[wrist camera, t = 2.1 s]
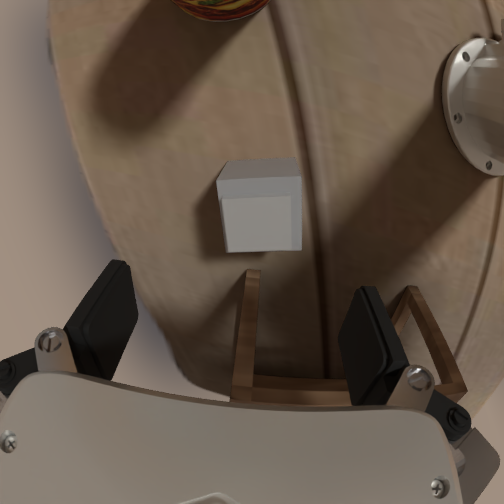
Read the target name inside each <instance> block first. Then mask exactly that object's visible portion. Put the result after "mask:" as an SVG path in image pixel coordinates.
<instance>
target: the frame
mask: <svg viewBox="0 0 504 504" xmlns="http://www.w3.org/2000/svg"><path fill="white" fill-rule="evenodd" d="M260 271H261V270H252V269H247V273H246V280H245V288H244V295H243V303H242V311H241V318H240V326H239V333H238V341H237V348H236V356H235V364H234V371H233V379H232V386H231V394H230V402H234V403H244V404H257V405H273V406H301V407H329V406H352V404H351V400H350V395H349V390H348V385H347V380H346V379H313V378H292V377H278V376H265V375H255V374H253V370H254V357H255V343H256V329H257V315H258V301H259V286H260ZM411 312H412V314H413V316H414V318H415V320H416V322H417V325H418V327H419V329H420V331H421V333H422V336H423V338H424V340H425V343H426V345H427V347H428V350H429V352H430V354H431V357H432V359H433V362H434V364H435V367H436V369H437V372H438V374H439V377H440V379H441V382H442V385H435V386H434V389H435V390H436V391H438V392H440V393H441V394H443V395H444V396H446V397H447V398H449V399H450V400H452V401H454V402H455V403H457V402H458V401H459V400H460V399H461V398H462V397H463V396H464V395H465V394H466V393H467V392H468V390H467V388H466V385H465V383H464V380H463V378H462V376H461V373H460V371H459V369H458V366H457V364H456V362H455V360H454V357H453V355H452V353H451V351H450V349H449V347H448V345H447V342H446V340H445V338H444V336H443V334H442V332H441V330H440V328H439V326H438V324H437V322H436V320H435V319H434V317H433V315H432V313H431V311H430V309H429V307H428V305H427V304H426V302H425V300H424V298H423V296H422V295H421V293H420V291H419V289H418V287H417V286H407V288H406V290H405V292H404V294H403V296H402V298H401V300H400V303H399V305H398V307H397V309H396V311H395V313H394V315H393V317H392V319H391V321H392V323H393V325H394V328H395V330H396V332H397V335H398V336H399V334H400V332H401V330H402V329H403V327H404V325H405V323H406V322H407V320H408V318H409V316H410V314H411Z"/></svg>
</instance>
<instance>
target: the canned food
mask: <svg viewBox="0 0 504 504" xmlns="http://www.w3.org/2000/svg"><path fill="white" fill-rule="evenodd" d="M171 1H172V2H174V3H175V4H176V5H177V6H179V7H180V8H181V9H182V10H184V11H185V12H186V13H187V14H189V15H192V16H194V17H196V18H198V19H202V20H207V21H231V20H236V19H241V18H244V17H246V16H249V15H251V14H254V13H255V12H257V11H258V10H260V9H261V8H263V7H264V6H266V5H267V4H268V2H269V1H270V0H171Z"/></svg>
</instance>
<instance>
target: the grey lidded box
mask: <svg viewBox="0 0 504 504" xmlns="http://www.w3.org/2000/svg"><path fill="white" fill-rule="evenodd" d="M216 183H217V191H218V199H219V206H220V214H221V221H222V228H223V235H224V243H225V250H226V253H236V252H265V251H295V250H302V177H301V173H300V170H299V167H298V164H297V161H296V159H295V157H294V158H268V159H249V160H235V161H228V162H227V163H226V165H225V167H224V168H223V170H222V172H221V173H220V175H219V177H218V178H217V180H216Z"/></svg>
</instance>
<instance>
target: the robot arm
mask: <svg viewBox="0 0 504 504" xmlns="http://www.w3.org/2000/svg"><path fill="white" fill-rule="evenodd" d="M501 29H502V40H500V41H499V42H497V41H495V40H492V39H488V38H474V39H469V40H466V41H464V42H462V43H461V44H459V45H458V46H457V47H456V48H455V49H454V50H453V51H452V53H451V55H450V57H449V59H448V61H447V63H446V67H445V70H444V74H443V82H442V102H443V109H444V116H445V119H446V123H447V126H448V130H449V132H450V134H451V137H452V139H453V142H454V143H455V145H456V147H457V148H458V150H459V152H460V153H461V154H462V155H463V157H464V158H465V159H466V160H467V161H468V162H469V163H470V164H471V165H473V166H474V167H475V168H477V169H479V170H481V171H482V172H484V173H487V174H490V175H493V176H502V175H504V19H501ZM137 320H138V309H137V304H136V299H135V293H134V288H133V282H132V276H131V270H130V266H129V265H127V264H126V262H125V261H121V260H114V259H113V260H111V261H110V263H109V264H108V265H107V266H106V268H105V269H104V271H103V272H102V273H101V275H100V276H99V277H98V279H97V280H96V282H95V283H94V284H93V286H92V287H91V288H90V290H89V291H88V292H87V294H86V295H85V296H84V298H83V300H82V301H81V302H80V304H79V305H78V307H77V308H76V310H75V311H74V313H73V314H72V316H71V317H70V319H69V320H68V322H67V323H66V325H65V326H64V328H63V330H62V329H60V328H58V327H51V328H47V329H45V330H43V331H42V332H41V333H39V335H38V336H37V337H36V340H35V347H34V348H32V349H29V350H27V351H24V352H22V353H19V354H17V355H14V356H11V357H9V358H6V359H4V360H2V361H1V362H0V504H474V502H475V501H476V500H477V498H478V497H479V496H480V495H481V493H482V492H483V490H484V489H485V488H486V486H487V485H488V483H489V482H490V480H491V479H492V478H493V476H494V474H495V473H496V471H497V470H498V468H499V465H500V458H499V455H498V453H497V452H496V451H495V449H494V448H493V447H492V446H491V445H490V443H489V442H488V441H487V440H486V439H485V438H484V437H483V436H482V434H481V433H480V432H479V431H478V430H477V429H476V428H473V429H472V428H471V418H470V415H469V413H468V412H467V410H465V409H464V408H463V407H461V406H460V405H458V404H457V403H455V402H454V401H452V400H450V399H449V398H447V397H446V396H444V395H443V394H441V393H440V392H438V391H436V390H435V389H434V386H435V381H434V377H433V375H432V374H431V373H430V371H429V370H427V369H426V368H425V367H422V366H420V365H409V362H408V359H407V357H406V354H405V352H404V349H403V347H402V344H401V342H400V339H399V337H398V335H397V332H396V330H395V328H394V325H393V323H392V321H391V319H390V318H389V315H388V313H387V311H386V309H385V306H384V304H383V302H382V300H381V297H380V295H379V293H378V291H377V289H376V287H373V286H361V288H360V289H357V290H356V292H355V294H354V297H353V300H352V302H351V305H350V308H349V310H348V313H347V315H346V318H345V320H344V323H343V325H342V328H341V330H340V332H339V336H338V343H339V347H340V352H341V356H342V361H343V366H344V370H345V375H346V380H347V385H348V390H349V395H350V400H351V404H352V406H329V407H301V406H273V405H257V404H244V403H234V402H223V401H216V400H207V399H199V398H194V397H187V396H181V395H175V394H169V393H164V392H158V391H153V390H149V389H144V388H139V387H135V386H130V385H126V384H121V383H117V382H113V381H111V380H112V378H113V376H114V373H115V371H116V368H117V366H118V364H119V361H120V359H121V356H122V354H123V352H124V350H125V347H126V345H127V342H128V341H129V338H130V336H131V334H132V332H133V329H134V327H135V325H136V323H137Z"/></svg>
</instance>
